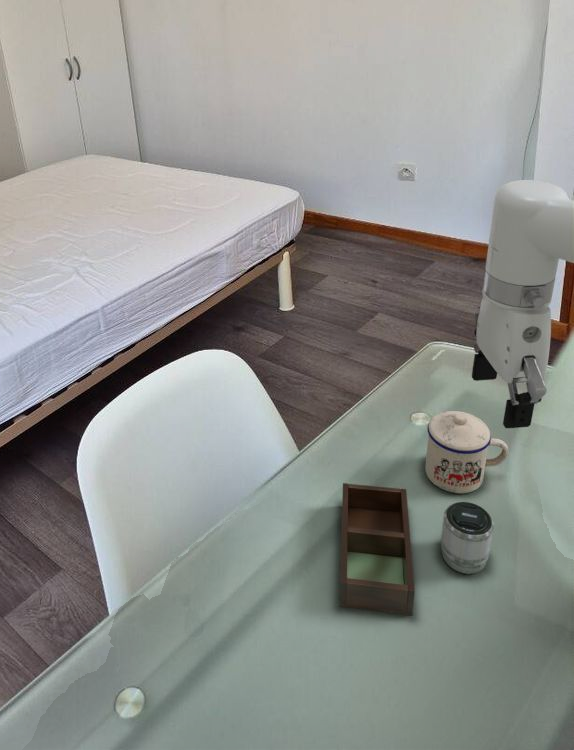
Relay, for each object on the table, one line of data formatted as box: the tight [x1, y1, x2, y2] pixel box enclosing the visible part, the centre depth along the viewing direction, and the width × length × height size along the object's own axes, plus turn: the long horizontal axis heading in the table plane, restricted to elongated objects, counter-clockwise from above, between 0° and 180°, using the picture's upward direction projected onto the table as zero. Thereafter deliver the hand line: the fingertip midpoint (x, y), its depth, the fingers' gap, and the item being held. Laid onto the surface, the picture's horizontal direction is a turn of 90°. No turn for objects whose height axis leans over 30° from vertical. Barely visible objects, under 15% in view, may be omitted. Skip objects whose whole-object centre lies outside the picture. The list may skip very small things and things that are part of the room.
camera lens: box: [440, 501, 495, 575], centre depth 93 cm, size 6×6×8 cm
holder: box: [339, 482, 416, 616], centre depth 95 cm, size 9×17×4 cm, turn 168°
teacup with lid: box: [425, 410, 509, 494], centre depth 106 cm, size 12×9×12 cm
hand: (499, 401), depth 89 cm, fingers open, 9 cm apart
